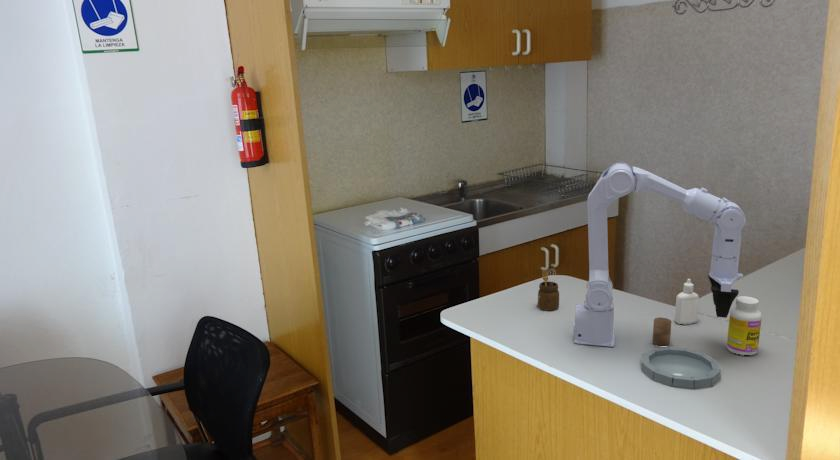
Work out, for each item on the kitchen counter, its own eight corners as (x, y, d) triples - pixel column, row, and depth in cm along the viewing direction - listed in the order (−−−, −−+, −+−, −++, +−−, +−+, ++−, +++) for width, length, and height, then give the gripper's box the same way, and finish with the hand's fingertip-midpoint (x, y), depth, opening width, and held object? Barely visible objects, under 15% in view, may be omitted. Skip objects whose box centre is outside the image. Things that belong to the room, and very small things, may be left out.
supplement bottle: (745, 359, 147) (750, 307, 144) (720, 348, 153) (725, 298, 150) (764, 352, 150) (769, 301, 147) (738, 342, 156) (743, 292, 153)
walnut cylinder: (652, 346, 155) (654, 323, 154) (651, 339, 159) (653, 317, 158) (670, 347, 154) (672, 324, 153) (669, 340, 158) (670, 318, 156)
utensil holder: (562, 305, 182) (563, 265, 179) (554, 313, 177) (554, 272, 174) (542, 302, 186) (543, 262, 183) (534, 309, 180) (534, 269, 177)
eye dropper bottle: (698, 326, 166) (701, 282, 163) (675, 324, 167) (678, 281, 164) (696, 320, 170) (699, 277, 167) (673, 318, 171) (676, 275, 168)
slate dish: (643, 383, 138) (643, 375, 137) (640, 351, 152) (640, 344, 152) (724, 392, 133) (725, 383, 133) (713, 358, 148) (714, 350, 147)
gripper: (749, 266, 138) (742, 324, 142) (741, 247, 151) (735, 301, 155) (713, 263, 141) (708, 320, 144) (708, 245, 154) (703, 298, 157)
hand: (720, 310), depth 150 cm, fingers open, 7 cm apart
